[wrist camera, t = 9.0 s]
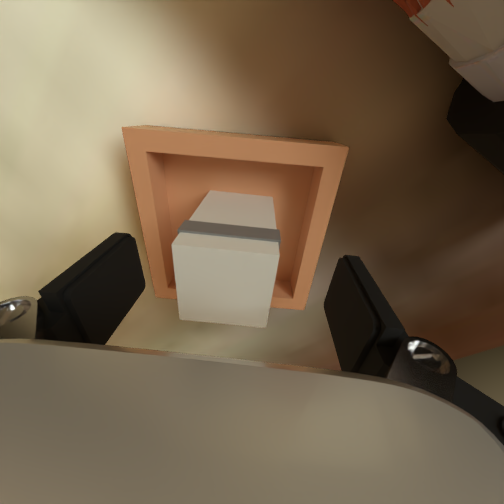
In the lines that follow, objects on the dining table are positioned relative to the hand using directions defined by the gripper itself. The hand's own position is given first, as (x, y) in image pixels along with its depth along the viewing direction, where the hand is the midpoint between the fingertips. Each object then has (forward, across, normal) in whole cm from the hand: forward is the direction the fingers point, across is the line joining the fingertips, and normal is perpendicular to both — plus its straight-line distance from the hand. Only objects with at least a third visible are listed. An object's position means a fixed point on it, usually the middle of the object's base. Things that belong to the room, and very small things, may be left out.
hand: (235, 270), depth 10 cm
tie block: (+6, 0, 0) cm, 6 cm away
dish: (+6, +1, 0) cm, 6 cm away
